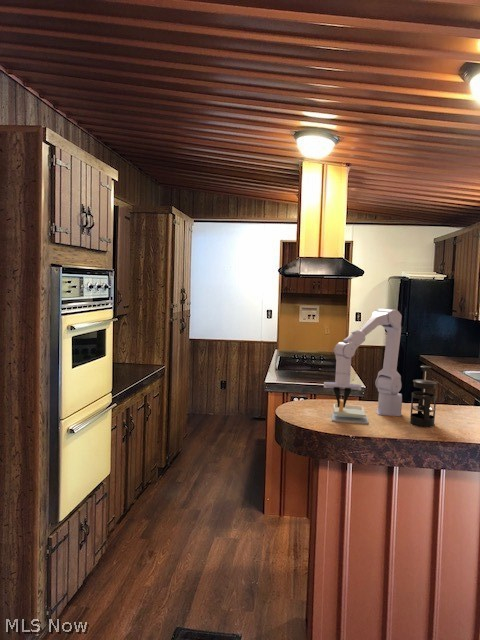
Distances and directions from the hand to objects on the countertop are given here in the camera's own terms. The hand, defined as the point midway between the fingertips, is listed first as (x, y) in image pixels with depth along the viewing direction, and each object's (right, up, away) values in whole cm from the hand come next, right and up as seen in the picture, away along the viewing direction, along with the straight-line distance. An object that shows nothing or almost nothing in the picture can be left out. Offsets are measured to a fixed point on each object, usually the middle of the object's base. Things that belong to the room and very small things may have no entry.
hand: (341, 406), depth 213 cm
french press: (+31, -7, -3) cm, 32 cm away
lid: (+3, -3, 0) cm, 5 cm away
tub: (+5, -4, +11) cm, 13 cm away
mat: (+3, -5, 0) cm, 6 cm away
